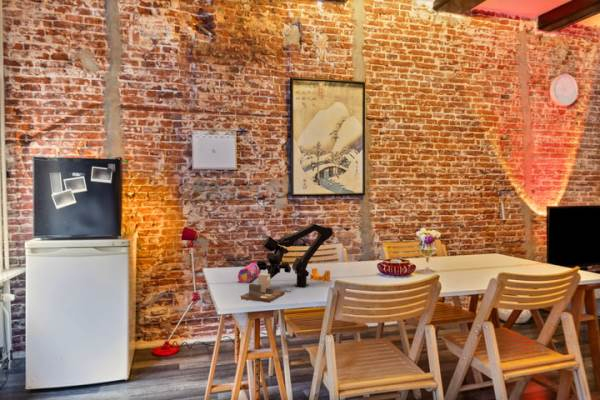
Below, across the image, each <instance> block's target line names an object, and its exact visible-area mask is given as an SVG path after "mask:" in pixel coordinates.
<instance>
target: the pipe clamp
mask: <svg viewBox="0 0 600 400" xmlns="http://www.w3.org/2000/svg"><path fill="white" fill-rule="evenodd" d="M309 279H310V280H312V279H313V280H312V281H317V282H319V281H321V282H322V281H323V282H326V281H327V282H330V281H331V270H324V273H323V275H321V274H320V273H319V272H318V268H315V267H312V268H311V273H309ZM327 282H326V283H327Z"/></svg>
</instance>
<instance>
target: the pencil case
mask: <svg viewBox="0 0 600 400" xmlns="http://www.w3.org/2000/svg"><path fill="white" fill-rule="evenodd" d="M261 271H262V270H260V269H259V268H258V266H257V262H251V263H249V264H248V265H246V266H245V267H243V268H241V269H240V270H239V271H238V274H237V280H238V281H239V282H240V283H242V284H243V283H244V284H248V283H250V282H251V281H252V280H254V279H255V278H257V277H258V274H261Z"/></svg>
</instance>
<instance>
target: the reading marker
mask: <svg viewBox="0 0 600 400" xmlns="http://www.w3.org/2000/svg"><path fill="white" fill-rule="evenodd" d="M266 293H268V294H272V293H273V288H271V284H270V285H269V288H266Z"/></svg>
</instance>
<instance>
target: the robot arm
mask: <svg viewBox="0 0 600 400" xmlns="http://www.w3.org/2000/svg"><path fill="white" fill-rule="evenodd" d="M313 232H317V234H316V235H317V236H316V238H315V239H314V241H312V243H311V244H310V246H308V249H307V250H306V251H305V252H304V253H303V255H302V256H301V257H296V258H295V260H294V261H292V265H290V263H289V262H283V258H284V255H287V254H288V253H289V250H288V248H290V247H291V246H293V245H294V244H296V243H297V241H298V240H300V239H302V238H304V237H306V236H308V235H309V234H311V233H313ZM333 234H334V231H333V229H332V228H331V227H328V226H322V225H318V224H316V223H310V224H309V225H306V226H305V227H303V228H301V229H300V230H297V231H295V232H294V233H290V234H286V235H283V236H281V237H280V238H278V239H276V240H275V239H274V238H272V237H271V236H268V237H267V238H266V239H265V240H264V241H263V242H262V244H261V246H262V247H263V248H264V249H265V250H268V251H269V252H266V253H267V254H266V257H265V258H266V259H267V261H268V262H266V261H265V260H261V259H260V260H257V262H256V264H257V266H258V268H259V269H260V270H261V271H266V270H267V274H270V279H273V278H274V277H275V276H276V275H278V274H279V273H281V270H282V269H283V271H284V273H288V274H289V273H291V271H292V270H293V271H294V274H295V275H296V284H294V287H297V288H298V287H299V288H306V287H308V286H309V284H308V283H307V279H308V277H309V276H310V272H309V271H308V270H307V267H308V264H309V262H310V260H311V258H313V256H314V255H315V254H316V252H317V251H318V250H319V249H320V247H321V246H322V245H323V243H324V242H326V241H327V240H329V239H330V238H331V237H332V236H333Z"/></svg>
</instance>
